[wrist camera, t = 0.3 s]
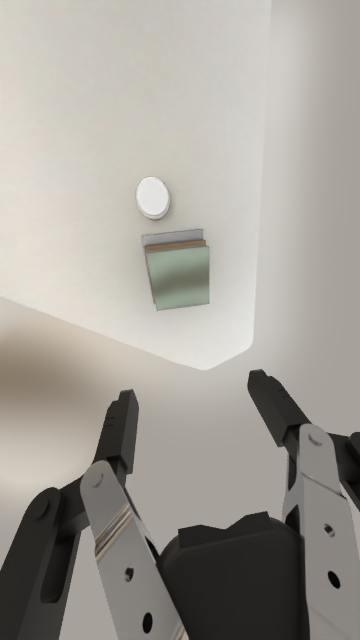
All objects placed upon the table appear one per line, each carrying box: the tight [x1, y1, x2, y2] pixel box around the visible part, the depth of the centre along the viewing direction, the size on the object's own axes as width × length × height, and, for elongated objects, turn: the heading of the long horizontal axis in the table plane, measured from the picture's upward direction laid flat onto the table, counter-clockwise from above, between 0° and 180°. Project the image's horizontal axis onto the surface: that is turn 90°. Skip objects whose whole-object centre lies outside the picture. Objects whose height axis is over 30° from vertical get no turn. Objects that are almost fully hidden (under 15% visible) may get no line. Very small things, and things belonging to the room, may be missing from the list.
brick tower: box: [144, 239, 209, 311], centre depth 29 cm, size 10×10×8 cm
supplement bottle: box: [136, 177, 170, 220], centre depth 25 cm, size 5×5×8 cm
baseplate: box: [141, 229, 203, 301], centre depth 33 cm, size 13×11×1 cm
